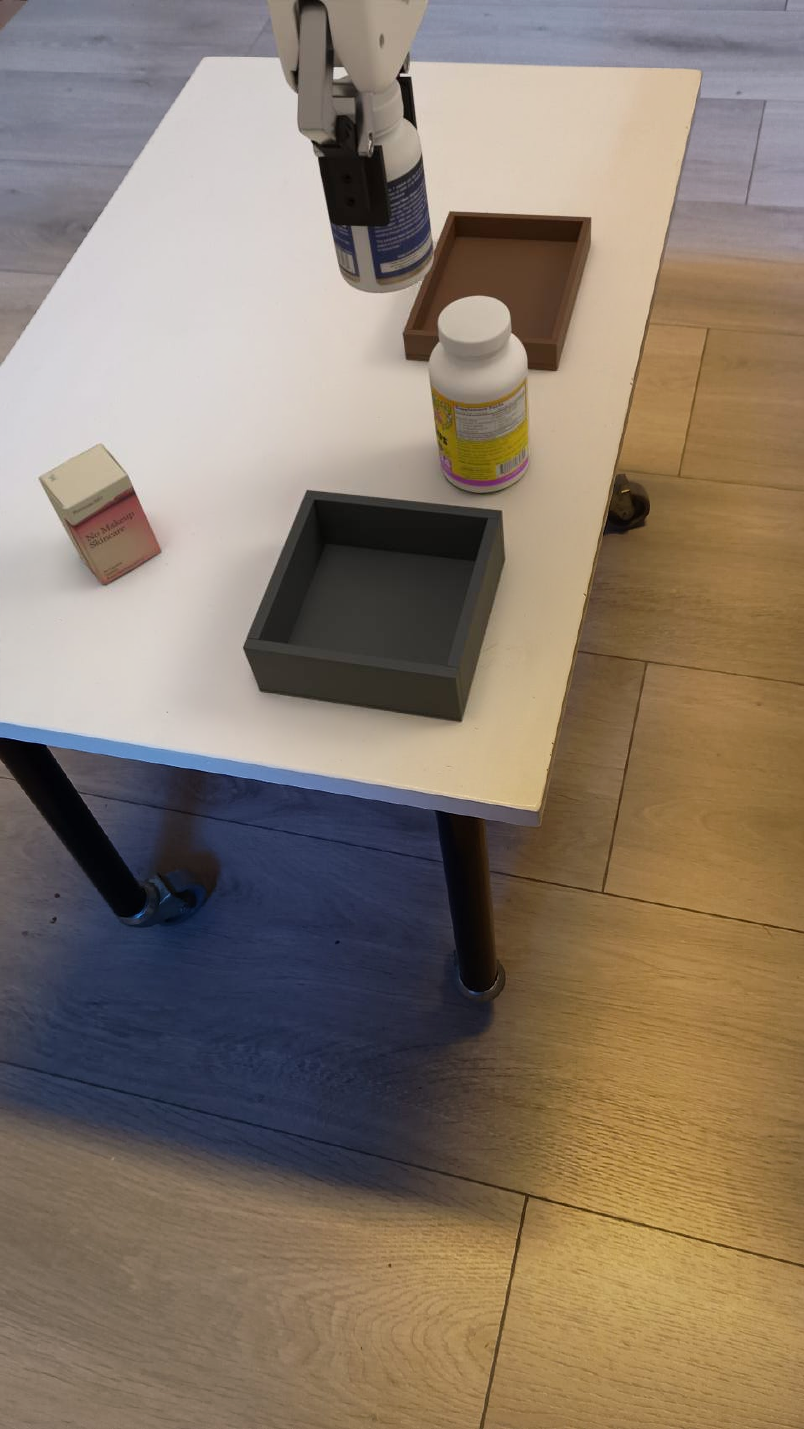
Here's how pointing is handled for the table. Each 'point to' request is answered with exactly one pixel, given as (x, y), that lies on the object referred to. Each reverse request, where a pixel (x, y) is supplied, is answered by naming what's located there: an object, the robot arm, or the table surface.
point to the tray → (505, 278)
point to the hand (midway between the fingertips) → (375, 184)
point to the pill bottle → (407, 239)
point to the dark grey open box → (379, 604)
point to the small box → (101, 513)
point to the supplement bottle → (480, 396)
